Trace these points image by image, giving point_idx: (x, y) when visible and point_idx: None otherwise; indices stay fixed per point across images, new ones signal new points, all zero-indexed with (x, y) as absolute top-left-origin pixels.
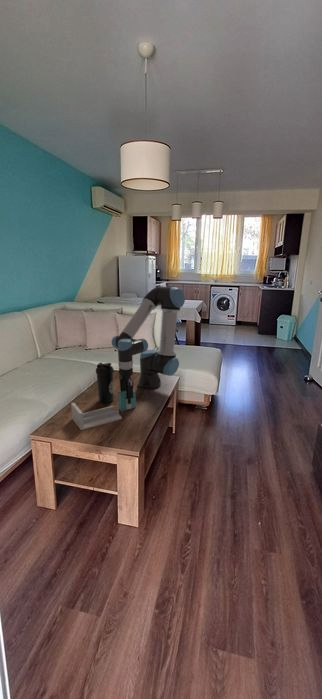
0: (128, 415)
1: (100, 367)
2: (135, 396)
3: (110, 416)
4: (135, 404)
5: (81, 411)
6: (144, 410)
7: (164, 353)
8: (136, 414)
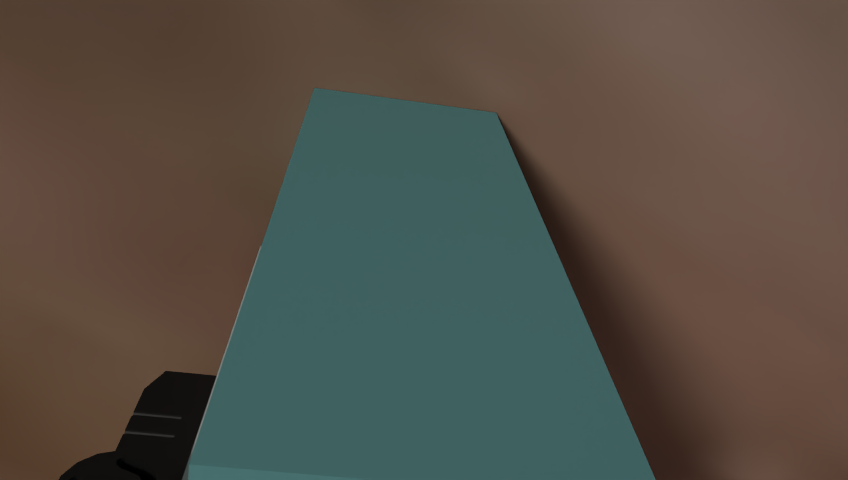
0: (692, 451)
1: None
2: (570, 287)
3: None
4: (509, 155)
5: None
6: (825, 35)
7: None
8: (803, 314)
